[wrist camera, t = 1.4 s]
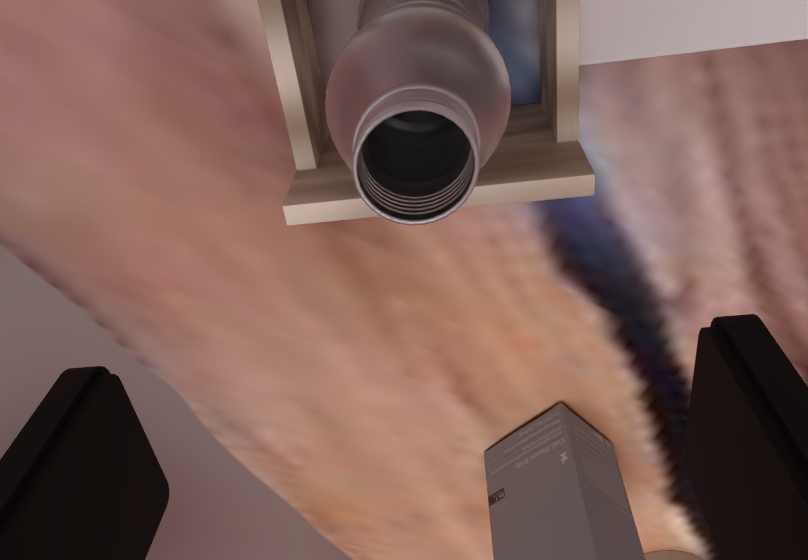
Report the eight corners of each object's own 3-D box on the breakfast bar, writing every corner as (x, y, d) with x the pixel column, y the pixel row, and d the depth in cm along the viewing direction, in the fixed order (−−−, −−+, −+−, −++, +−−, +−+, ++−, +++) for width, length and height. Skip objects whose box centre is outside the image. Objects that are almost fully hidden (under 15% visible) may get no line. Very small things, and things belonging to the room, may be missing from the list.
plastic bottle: (512, -3, 35) (586, 142, 18) (432, 100, 38) (433, 304, 21) (412, -86, 33) (393, -12, 16) (337, 29, 36) (255, 191, 19)
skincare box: (560, 397, 50) (607, 599, 37) (619, 446, 53) (682, 651, 39) (476, 453, 53) (491, 655, 40) (535, 496, 56) (567, 700, 43)
